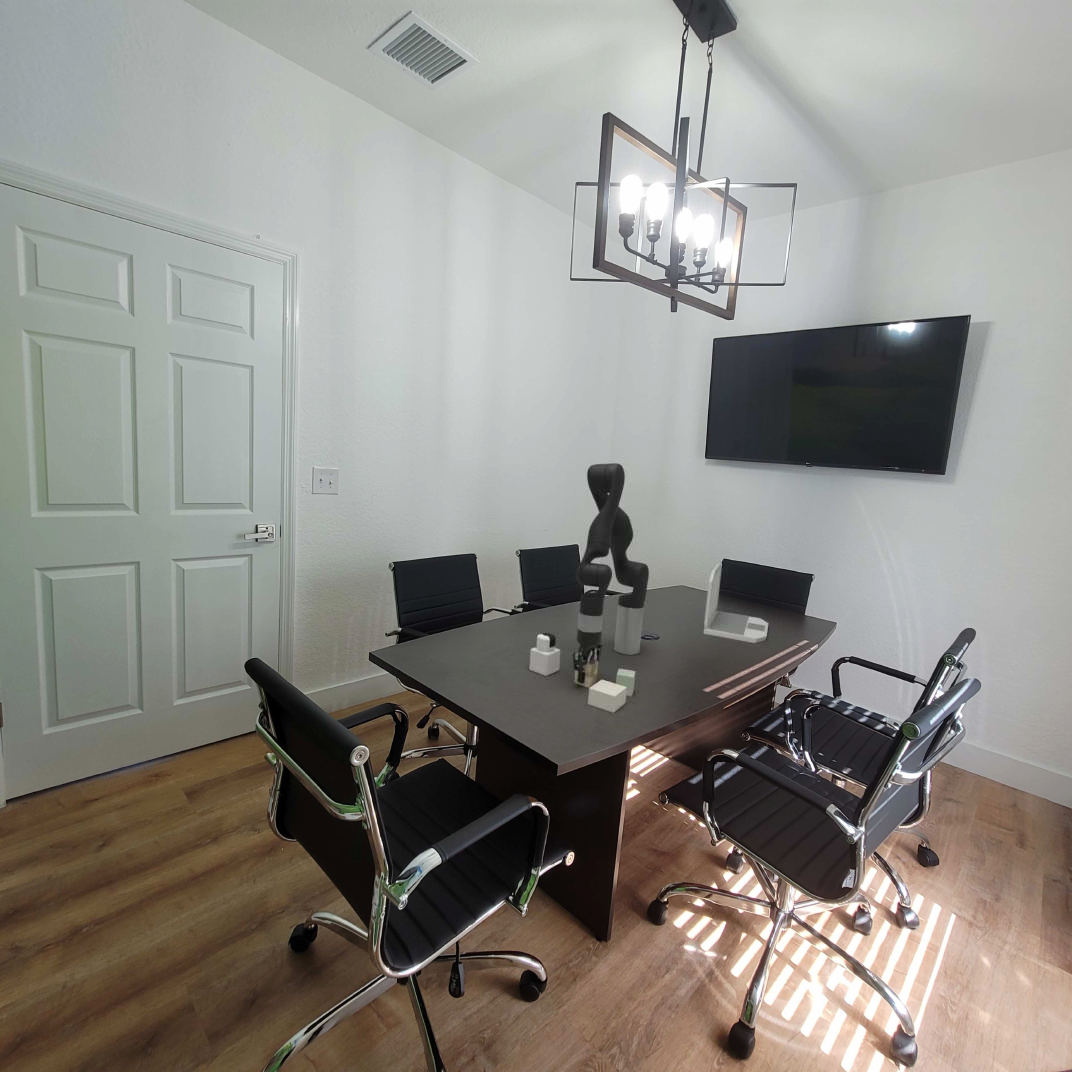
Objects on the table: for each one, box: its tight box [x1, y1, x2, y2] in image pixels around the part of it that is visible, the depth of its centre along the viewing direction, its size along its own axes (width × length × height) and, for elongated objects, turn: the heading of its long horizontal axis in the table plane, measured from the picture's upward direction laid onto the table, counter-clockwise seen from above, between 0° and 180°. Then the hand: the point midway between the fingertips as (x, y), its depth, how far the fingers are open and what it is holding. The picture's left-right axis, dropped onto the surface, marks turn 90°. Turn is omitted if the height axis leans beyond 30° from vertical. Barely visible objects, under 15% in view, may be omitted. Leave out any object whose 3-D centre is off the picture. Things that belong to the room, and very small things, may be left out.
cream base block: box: [587, 679, 627, 714], centre depth 156 cm, size 8×8×5 cm
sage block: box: [615, 668, 636, 697], centre depth 164 cm, size 5×5×6 cm
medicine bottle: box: [528, 632, 561, 677], centre depth 176 cm, size 7×7×12 cm
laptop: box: [703, 562, 769, 644], centre depth 236 cm, size 33×24×26 cm
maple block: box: [573, 660, 599, 688], centre depth 169 cm, size 5×5×7 cm
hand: (585, 679), depth 169 cm, fingers closed on maple block, 5 cm apart
